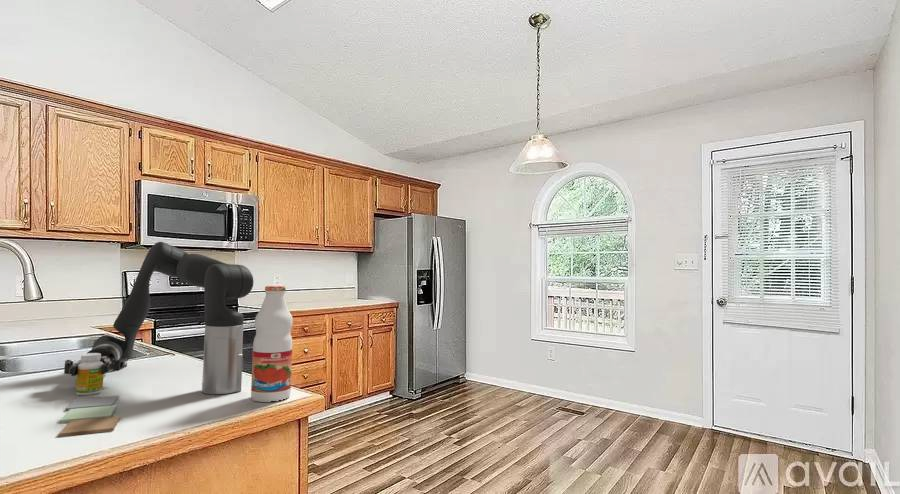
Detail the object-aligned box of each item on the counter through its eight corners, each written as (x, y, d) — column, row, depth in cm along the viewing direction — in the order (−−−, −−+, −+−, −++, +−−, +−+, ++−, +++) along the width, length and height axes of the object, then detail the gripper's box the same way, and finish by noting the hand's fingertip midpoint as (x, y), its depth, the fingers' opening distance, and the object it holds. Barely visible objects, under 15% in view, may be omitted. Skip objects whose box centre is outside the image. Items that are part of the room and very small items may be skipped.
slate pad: (118, 397, 117) (118, 395, 117) (112, 407, 110) (112, 404, 110) (75, 401, 114) (75, 398, 114) (65, 411, 106) (66, 408, 106)
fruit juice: (288, 391, 127) (293, 285, 128) (292, 401, 118) (296, 287, 120) (250, 394, 123) (255, 285, 124) (250, 404, 114) (256, 286, 116)
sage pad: (116, 407, 109) (116, 405, 109) (109, 418, 102) (109, 415, 102) (70, 411, 106) (70, 409, 106) (59, 423, 98) (59, 420, 98)
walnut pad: (120, 418, 102) (120, 415, 102) (113, 431, 94) (113, 427, 94) (70, 423, 98) (70, 420, 98) (58, 436, 90) (58, 433, 90)
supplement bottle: (88, 396, 118) (90, 356, 118) (70, 394, 119) (72, 355, 119) (107, 391, 123) (109, 352, 124) (90, 389, 124) (92, 351, 125)
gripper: (71, 346, 131) (52, 357, 116) (133, 344, 138) (123, 353, 122) (69, 374, 131) (50, 388, 116) (131, 370, 137) (122, 383, 122)
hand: (88, 370), depth 119 cm, fingers closed on supplement bottle, 5 cm apart
